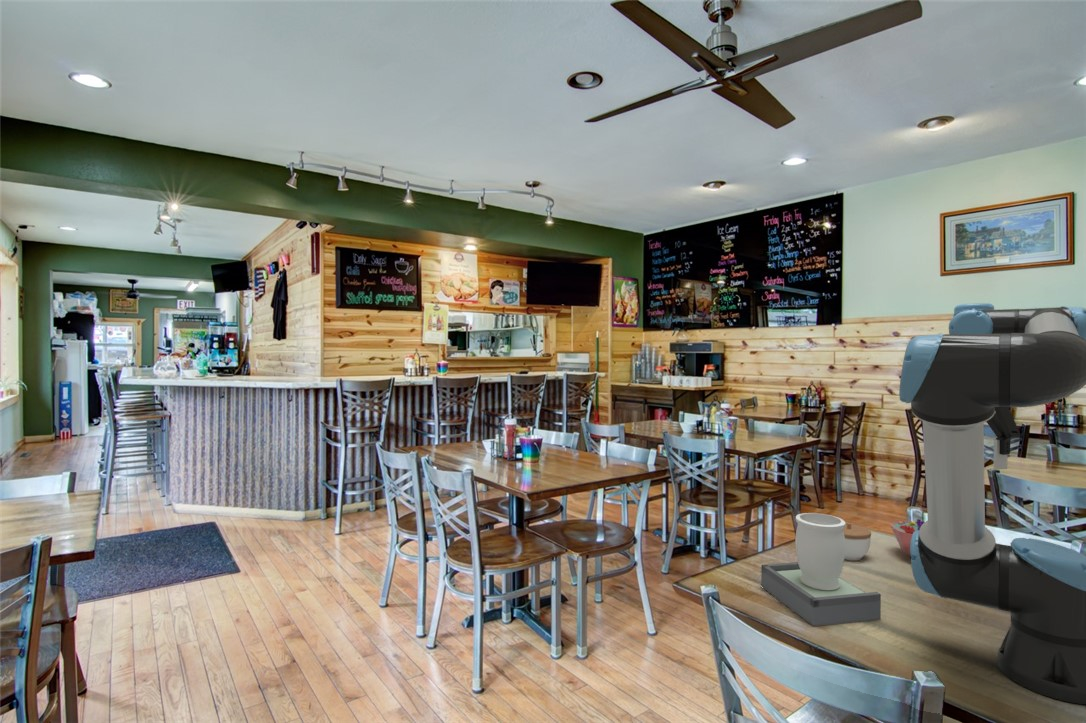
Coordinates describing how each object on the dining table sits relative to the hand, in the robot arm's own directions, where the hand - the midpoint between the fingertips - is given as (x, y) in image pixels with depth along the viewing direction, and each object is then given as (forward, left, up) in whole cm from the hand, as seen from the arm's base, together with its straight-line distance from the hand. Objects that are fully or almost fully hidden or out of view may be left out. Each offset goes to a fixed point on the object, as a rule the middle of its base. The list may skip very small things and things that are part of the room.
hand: (972, 462), depth 132 cm
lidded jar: (+29, +9, -32) cm, 44 cm away
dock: (+5, +36, -32) cm, 48 cm away
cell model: (+22, -11, -32) cm, 40 cm away
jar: (+5, +35, -28) cm, 45 cm away
